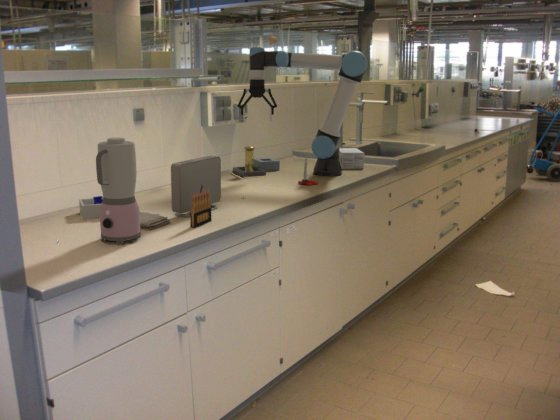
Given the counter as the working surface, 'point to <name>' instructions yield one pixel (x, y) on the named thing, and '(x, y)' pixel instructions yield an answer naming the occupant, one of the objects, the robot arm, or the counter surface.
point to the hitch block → (267, 164)
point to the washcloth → (152, 221)
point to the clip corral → (89, 208)
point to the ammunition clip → (200, 209)
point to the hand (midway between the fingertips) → (257, 121)
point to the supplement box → (351, 158)
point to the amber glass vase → (249, 158)
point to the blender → (118, 190)
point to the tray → (241, 171)
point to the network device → (195, 182)
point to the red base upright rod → (304, 181)
